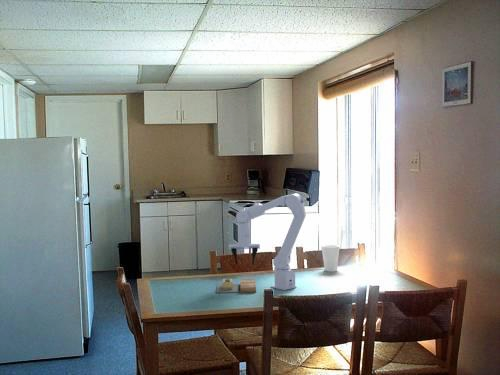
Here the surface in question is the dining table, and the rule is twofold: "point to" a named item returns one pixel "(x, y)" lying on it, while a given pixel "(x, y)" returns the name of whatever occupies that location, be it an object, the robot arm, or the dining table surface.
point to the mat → (220, 290)
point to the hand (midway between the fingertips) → (244, 264)
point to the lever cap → (227, 284)
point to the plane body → (247, 286)
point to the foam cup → (330, 256)
